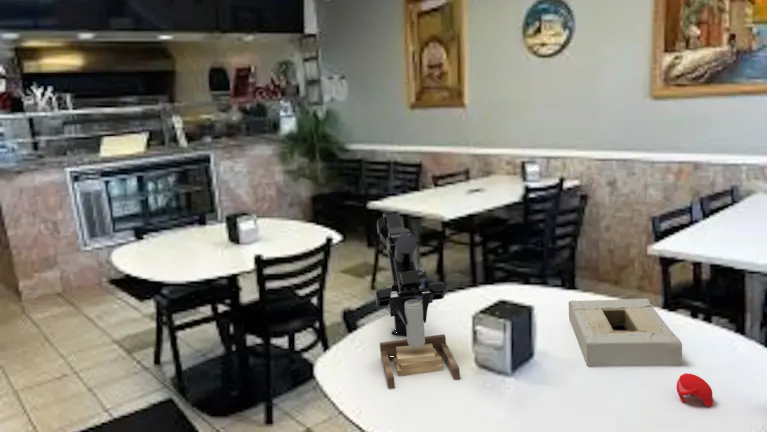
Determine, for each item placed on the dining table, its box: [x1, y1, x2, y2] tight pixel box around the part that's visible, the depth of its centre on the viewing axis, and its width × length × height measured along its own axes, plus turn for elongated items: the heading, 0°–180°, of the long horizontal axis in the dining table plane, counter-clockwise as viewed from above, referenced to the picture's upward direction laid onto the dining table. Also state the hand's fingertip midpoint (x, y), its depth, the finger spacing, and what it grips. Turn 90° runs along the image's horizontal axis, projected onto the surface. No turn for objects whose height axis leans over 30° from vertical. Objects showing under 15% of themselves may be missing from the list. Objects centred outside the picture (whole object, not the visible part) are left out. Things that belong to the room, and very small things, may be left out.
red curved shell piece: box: [676, 372, 714, 408], centre depth 132 cm, size 8×6×6 cm
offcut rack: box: [379, 333, 461, 389], centre depth 160 cm, size 18×19×5 cm
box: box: [568, 298, 683, 367], centre depth 165 cm, size 23×8×32 cm
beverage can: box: [404, 299, 426, 347], centre depth 158 cm, size 5×5×12 cm
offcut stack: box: [393, 344, 443, 377], centre depth 161 cm, size 9×12×4 cm
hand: (415, 323), depth 157 cm, fingers closed on beverage can, 5 cm apart
